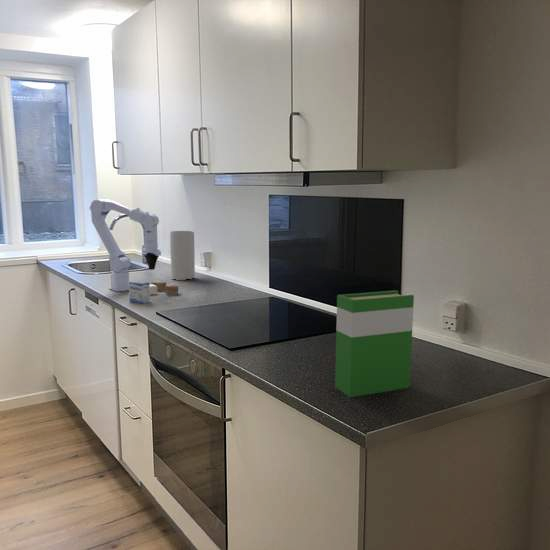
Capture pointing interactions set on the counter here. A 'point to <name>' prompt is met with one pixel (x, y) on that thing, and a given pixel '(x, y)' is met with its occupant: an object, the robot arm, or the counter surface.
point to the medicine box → (139, 292)
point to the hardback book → (373, 342)
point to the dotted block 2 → (171, 289)
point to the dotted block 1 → (159, 285)
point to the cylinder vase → (182, 255)
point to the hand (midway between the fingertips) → (151, 269)
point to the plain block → (153, 289)
